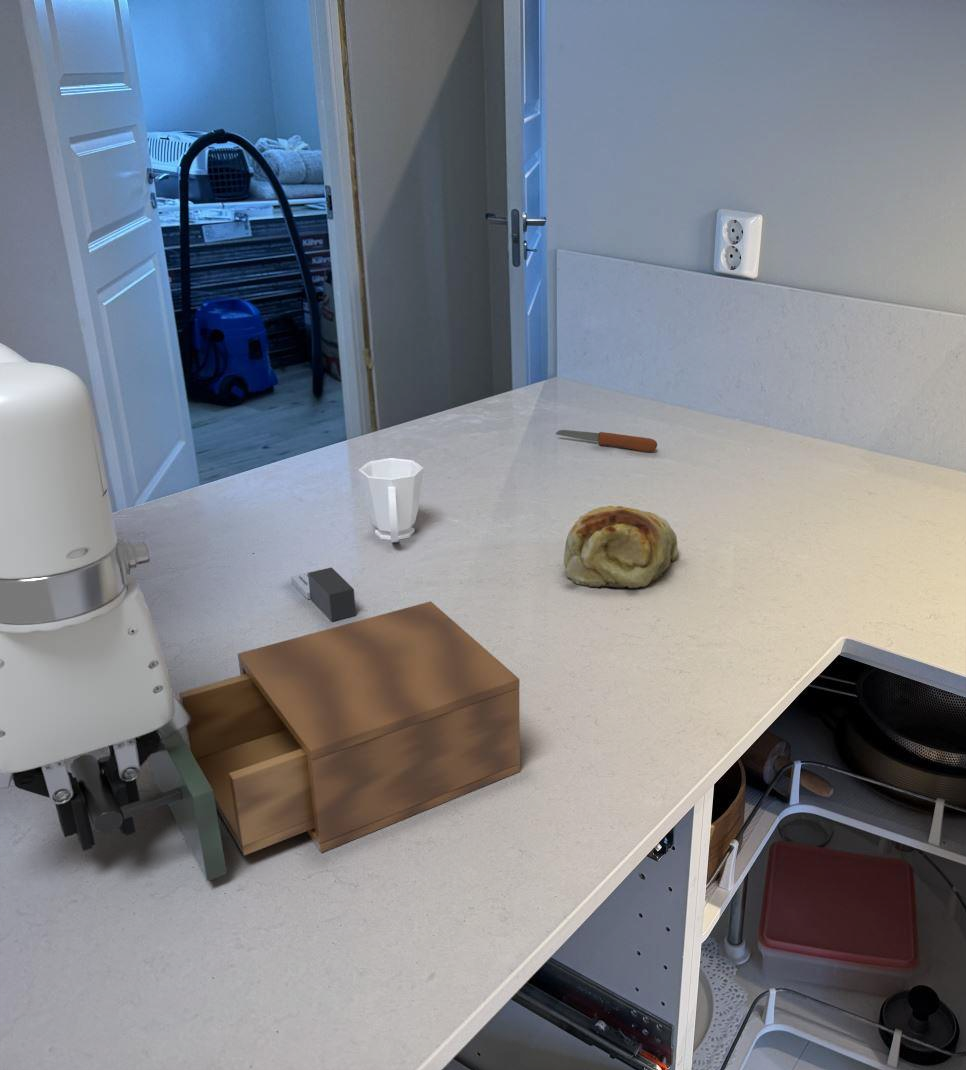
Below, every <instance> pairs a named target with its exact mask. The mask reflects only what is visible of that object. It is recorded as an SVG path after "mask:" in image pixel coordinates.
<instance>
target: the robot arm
mask: <svg viewBox="0 0 966 1070" xmlns="http://www.w3.org/2000/svg"><path fill="white" fill-rule="evenodd" d="M101 448H102V447H101V443H100V437H99V433H98V427H97V422H96V415H95V410H94V405H93V400H92V398H91V393H90V391H89V389H88V387H87V385H86V384H85V382H84V381H83V380H82V379H81V377H80V376H78V375H77V374H76V373H75V372H73V371H72V370H69V369H67V368H65V367H62V366H59V365H53V364H48V363H44V362H43V363H42V362H31V361H29V360H28V359H27V358H25V357H24V356H23V355H20V354H19V353H18V352H16V351H15V350H13V349H12V348H10V347H8V345H5V344H4V343H1V342H0V789H9V788H10V787H16V788H17V789H20V790H22V791H27V792H29V793H33V794H36V795H39V796H43V797H46V798H49V800H50V801H51V802H52V803H53V804H55V809H56V813H57V818H58V821H59V825H60V828H61V831H62V835H63V837H64V838H67V837H70V836H73V835H76V837H77V839H78V842H79V844H80V847H81V849H82V851H83V852H84V851H88V850H90V849H93V846H95V845H96V841H95V837H94V833H93V828H92V822H91V819H90V816H89V814H88V811H87V805H86V801H85V798H84V796H83V793H82V791H81V789H80V786H79V784H78V782H77V779H76V777H73V775H72V772H71V771H68V767H67V763H66V760H67V759H71V758H74V757H79V756H82V755H85V754H87V753H90V752H94V751H98V750H100V749H103V748H107V751H108V756H110V758H109V760H108V761H107V762H106V763H105V765H106V767H105V768H103V770H102V771H103V773H104V775H105V778H106V780H107V782H108V784H109V786H110V788H111V791H112V793H113V795H114V797H115V799H116V801H117V804H118V806H119V808H120V807H122V806H125V805H128V804H131V803H134V802H137V801H139V800H141V798H140V793H139V788H138V784H137V779H138V778H139V777H140V776H141V772H142V769H141V767H142V766H143V765H144V763H146V761H147V760H148V759H149V756H150V755H151V754H152V752H153V751H154V750H155V749H156V747H157V746H158V745H159V743H160V741H161V740H162V739H164V738H165V739H166V738H168V737H169V736H171V735H173V734H174V733H176V732H177V731H179V732H180V730H182V729H183V728H184V729H185V726H187V725H188V724H189V723H190V721H191V717H190V715H189V713H188V711H187V710H186V708H185V707H184V706H183V704H182V703H181V700H180V698H178V696H176V694H175V693H174V692H173V688H172V684H171V680H170V679H171V678H170V675H169V672H168V668H167V664H166V660H165V657H164V653H163V649H162V645H161V642H160V638H159V635H158V631H157V630H156V626H155V624H154V620H153V618H152V615H151V612H150V609H149V606H148V604H147V601H146V599H145V596H144V594H143V591H142V589H141V587H140V584H139V583H138V580H137V579H136V577H135V576H133V574H131V569H135V568H136V569H137V566H138V565H139V566H140V565H145V564H148V563H150V553H149V550H148V549H149V548H148V546H147V544H146V543H145V541H141V542H140V541H139V542H135V543H131V542H130V541H128V542H123V540H122V539H121V538H118V536H117V531H116V530H117V529H116V525H115V519H114V514H113V508H112V503H111V496H110V491H109V487H108V482H107V481H108V480H107V475H106V470H105V465H104V460H103V454H102V449H101ZM118 829H119V830H120V832H121V835H126V836H130V835H132V834H135V833H136V828H135V823H134V816H132V817H129V818H126V819H123V823H122V824H121V826H120V827H119V828H118Z"/></svg>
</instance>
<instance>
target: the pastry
mask: <svg viewBox="0 0 966 1070" xmlns="http://www.w3.org/2000/svg"><path fill="white" fill-rule="evenodd" d="M678 554H679V553H678V538H677V535H676V532H675V531H674V529H673V528H672V527H671V525H670V523H669V522H668V521H667V520H666V519H665V518H664V517H662V516H660V515H658V514H657V513H654V512H652V511H651V512H650V511H646V510H640V509H638V508H633V507H626V506H622V505H620V506H615V505H607V506H600V507H596V508H594V509H592V510H590V511H588V512H586V513H585V514H583V515H580V516H579V518H578V520H576V521H575V522H574V524H573V526H572V527H571V529H570V531H569V532H568V534H567V538H566V541H565V546H564V554H563V565H564V567H565V574H566V578H569V579H570V580H571V583H574V584H576V585H580V586H588V587H590V588H599V587H600V588H601V587H608V588H609V587H611V588H616V589H617V588H618V589H619V588H625V587H627V588H629V589H633V588H634V589H637V588H639V587H640V588H641V587H643V588H645V587H646V586H649V584H651V583H653V582H655V581H656V580H659V578H660V577H661V576H663V574H664V572H665V571H667V570H668V568H669V566H670V564H671V562H675V560H676V559H677V558H678Z"/></svg>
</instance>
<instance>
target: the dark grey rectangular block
mask: <svg viewBox="0 0 966 1070" xmlns="http://www.w3.org/2000/svg"><path fill="white" fill-rule="evenodd" d="M290 578H291V580H290V581H291V584H292V585H293V586H294V587H295V588H296V589H297V590H298V591H299V592H300V593H301V594H302V595H303V596H304V598H305V599H306V600H311V602H312V603H314V604H315V605H316V607H317V608H318V609H319V610H320V611H321V612H322V613H323V614H324V616H326V617H327V618H328V619H329V620H330V622H332V623H333V622H337V621H341V620H344V619H349V618H352V617H355V616H357V611H356V599H355V589H354V587H353V586H351V585H350V584H349V582H347V581H346V580H345V579H344V578H343V576H341V575H340V574H339V573H338V572H337V571H336V570H335V569H334V568H333V567H327V568H322V569H317V570H314V571H307V572H306V573H300V574H298V575H297V574H295V575H291V577H290Z"/></svg>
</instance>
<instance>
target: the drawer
mask: <svg viewBox="0 0 966 1070" xmlns="http://www.w3.org/2000/svg"><path fill="white" fill-rule="evenodd" d="M179 701H180V702H181V703H182V704H183V706H184V707H185V708H186V710H187V711H188V713H189V715H190V717H191V721H190V723H189V724H188V725H187V726H185V727H184V729H185V736H186V740H185V739H184V737H183V736H182V734H181V732H180V730H179V731H177V732H176V733H174V734H173V735H171V736H169V737H168V738H166V739H165V738H164V739H162V740H161V741H160V743H159V745H158V746H157V747H156V749H155V750H154V751H153V752H152V754H151V755H150V756H149V757H148V761H149V766H150V771H151V775H152V777H153V779H154V781H155V783H156V785H157V787H158V788H159V791H160V792H161V793H158V794H155V795H152V796H149V797H146V798H143V799H140V800H139V801H137V802H134V803H131V804H128V805H125V806H122V807H120V808H119V806H118V804H117V801H116V799H115V797H114V795H113V793H112V791H111V788H110V786H109V784H108V782H107V780H106V778H105V775H104V772H103V768H105V767H106V765H105V763H106V762H107V761H108V760H109V758H110V756H109V755H107V756H103V757H100V758H97V757H96V756H94V755H92V754H81V755H79V756H77V757H76V758H75V759H74V760H72V762H71V764H70V769H69V770H70V773H72V776H73V777H76V779H77V782H78V784H79V786H80V789H81V791H82V793H83V796H84V798H85V801H86V805H87V811H88V814H89V819H90V822H91V824H92V826H93V828H94V830H95V831H96V832H97V833H99V834H110V833H113V832H115V831H116V830H118V829H120V828H119V827H120V826H121V824H122V823H123V819H126V818H129V817H134V816H137V815H140V814H143V813H146V812H149V811H152V810H155V809H157V808H160V807H163V806H166V805H167V806H168V808H169V810H170V812H171V814H172V816H173V818H174V820H175V822H176V824H177V826H178V827H179V830H180V831H181V834H182V836H183V837H184V840H185V841H186V843H187V845H188V847H189V849H190V851H191V853H192V855H193V857H194V859H195V860H196V863H197V864H198V867H199V868H200V870H201V872H202V874H203V877H204V878H205V880H206V881H207V882H210V881H212V880H215V879H217V878H220V877H223V876H225V875H227V867H226V860H225V859H226V858H225V853H224V848H223V847H224V846H223V841H222V835H221V829H220V822H219V816H218V813H219V815H220V817H221V818H222V820H223V823H224V824H225V825H226V827H227V829H228V831H229V832H230V834H231V835H232V838H233V840H234V841H235V843H236V845H237V846H238V848H239V850H240V851H241V853H242V855H243V856H247V855H249V854H250V855H251V854H252V853H254V852H258V851H260V850H262V849H265V848H268V847H270V846H272V845H276V844H278V843H281V842H283V841H285V840H288V839H290V838H292V837H295V836H297V835H300V834H303V833H305V832H307V831H308V830H311V829H313V828H315V824H314V815H313V806H312V796H311V787H310V778H309V769H308V760H307V754H306V753H305V751H304V750H303V749H302V747H301V746H300V745H299V743H298V742H297V740H296V739H295V738H294V736H293V735H292V734H291V732H290V731H289V730H288V728H287V727H286V726H285V724H284V723H283V721H282V720H281V719H280V717H279V716H278V715H277V713H276V712H275V711H274V709H273V708H272V707H271V705H270V704H269V703H268V701H267V700H266V698H265V697H264V696H263V694H262V693H261V692H260V690H259V689H258V688H257V686H256V685H255V684H254V682H253V681H252V679H251V678H250V677H249V675H248V674H243V675H240V674H239V675H237V676H233V677H230V678H226V679H222V680H218V681H215V682H211V683H209V684H208V683H207V684H205V685H201V686H198V687H195V688H191V689H187V690H184V691H180V692H179ZM186 741H187V743H186Z"/></svg>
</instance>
